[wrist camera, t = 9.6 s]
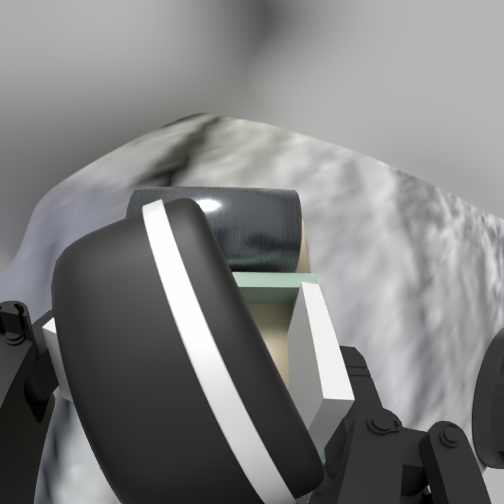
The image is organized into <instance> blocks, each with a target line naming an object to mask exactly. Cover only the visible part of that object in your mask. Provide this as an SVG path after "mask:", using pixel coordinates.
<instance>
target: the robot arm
mask: <svg viewBox="0 0 504 504" xmlns="http://www.w3.org/2000/svg"><path fill="white" fill-rule="evenodd" d="M287 344H288V363H289V384H290V396H291V398H292V400H293V402H294V404H295V406H296V408H297V410H298V412H299V414H300V416H301V418H302V420H303V422H304V424H305V426H306V428H307V430H308V432H309V434H310V436H311V438H312V441H313V443H314V445H315V447H316V449H317V451H318V454H319V456H321V454H322V453H323V451H324V452H325V460H326V462H325V463H324V465H323V467H324V480H323V482H322V483H321V484H320V486H319V487H318V488H316V489H314V490H313V493H312V495H311V498H310V501H309V504H491V501H490V498H489V495H488V492H487V489H486V486H485V483H484V480H483V477H482V474H481V471H480V469H479V466H478V464H477V461H476V458H475V456H474V453H473V451H472V448H471V446H470V444H469V441H468V439H467V437H466V435H465V433H464V432H463V430H462V429H461V428H460V427H459V426H457V425H456V424H454V423H452V422H449V421H440V422H436V423H435V424H434V425H433V426H432V427H431V428H430V429H429V430H428V431H427V432H424V431H419V430H413V429H408V428H405V427H403V426H402V422H401V421H400V420H399V418H398V417H397V416H396V415H395V414H393V413H392V412H391V411H389V410H387V409H384V408H383V407H382V404H381V401H380V399H379V396H378V393H377V390H376V388H375V385H374V382H373V380H372V378H371V375H370V372H369V369H367V368H368V367H367V364H366V362H365V359H364V357H363V356H362V355H361V354H360V353H359V352H358V350H357V349H356V348H355V347H346V346H339V345H338V341H337V338H336V335H335V332H334V329H333V326H332V323H331V320H330V317H329V313H328V310H327V307H326V304H325V301H324V299H323V296H322V293H321V290H320V287H319V285H318V284H313V283H307V282H301V284H300V288H299V292H298V296H297V300H296V304H295V308H294V312H293V315H292V319H291V323H290V327H289V330H288V334H287ZM58 385H59V387H60V390H61V393H62V396H63V398H65V399H67V400H69V401H71V402H73V399H72V396H71V393H70V389H69V386H68V382H67V378H66V375H65V371H64V367H63V362H62V358H61V353H60V349H59V344H58V339H57V333H56V327H55V321H54V315H53V308H52V310H49V311H48V312H47V313H46V314H44V315H43V316H42V317H41V318H39V319H38V320H37V321H36V322H34V323H33V324H32V325H31V320H30V316H29V311H28V307H27V306H26V305H25V304H24V303H22V302H19V301H6V302H2V303H0V504H34V496H35V489H36V483H37V477H38V471H39V466H40V461H41V456H42V452H43V447H44V443H45V439H46V435H47V431H48V427H49V423H50V420H51V416H52V412H53V409H54V406H55V397H54V394H53V391H54V390H55V389H56V388H57V387H58ZM73 403H74V402H73ZM473 436H474V442H475V447H476V451H477V453H478V456H479V458H480V459H481V461H482V462H483V463H484V464H485V465H486V466H488V467H490V468H496V469H504V328H502V329H501V330H500V331H499V332H498V333H497V335H496V336H495V337H494V339H493V340H492V342H491V344H490V345H489V347H488V350H487V352H486V354H485V357H484V359H483V362H482V365H481V369H480V372H479V376H478V380H477V385H476V391H475V397H474V406H473ZM428 485H429V486H430V491H431V493H430V492H429V490H428V487H427V486H428Z"/></svg>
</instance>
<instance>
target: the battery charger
mask: <svg viewBox="0 0 504 504" xmlns="http://www.w3.org/2000/svg"><path fill="white" fill-rule="evenodd" d="M51 296H52V308H53V315H54V321H55V327H56V333H57V339H58V344H59V349H60V353H61V358H62V362H63V367H64V371H65V375H66V378H67V382H68V386H69V389H70V393H71V396H72V399H73V402H74V405H75V408H76V411H77V414H78V416H79V419H80V422H81V424H82V427H83V429H84V432H85V434H86V437H87V439H88V442H89V444H90V446H91V449H92V451H93V453H94V455H95V457H96V459H97V462H98V464H99V466H100V468H101V470H102V472H103V474H104V476H105V478H106V480H107V481H108V483H109V485H110V487H111V488H112V490H113V491H114V493H115V495H116V496H117V498H118V499H119V501H120V502H121V503H122V504H297V502H296V500H295V499H297V498H299V497H301V496H303V495H306V494H308V493H310V492H311V491H313V490H314V489H316V488H318V487H319V486H320V484H321V483H322V482H323V480H324V467H323V464H322V461H321V459H320V456H319V454H318V451H317V449H316V447H315V445H314V443H313V441H312V438H311V436H310V434H309V432H308V430H307V428H306V426H305V424H304V422H303V420H302V418H301V416H300V414H299V412H298V410H297V408H296V406H295V404H294V402H293V400H292V398H291V396H290V394H289V392H288V390H287V388H286V386H285V384H284V382H283V379H282V377H281V375H280V373H279V371H278V369H277V367H276V365H275V363H274V361H273V359H272V357H271V355H270V352H269V350H268V348H267V346H266V344H265V342H264V340H263V338H262V336H261V334H260V331H259V329H258V327H257V325H256V323H255V321H254V319H253V317H252V314H251V312H250V310H249V308H248V306H247V304H246V302H245V300H244V298H243V295H242V293H241V291H240V289H239V287H238V285H237V282H236V280H235V278H234V276H233V274H232V272H231V269H230V267H229V265H228V263H227V261H226V259H225V256H224V254H223V252H222V250H221V248H220V245H219V243H218V241H217V239H216V236H215V234H214V232H213V230H212V228H211V226H210V224H209V222H208V219H207V217H206V215H205V213H204V212H203V210H202V208H201V207H200V205H199V204H198V203H197V202H195V201H194V200H193V199H190V198H179V199H175V200H172V201H169V202H166V203H164V204H163V201H162V199H160V200H158V201H155V202H152V203H150V204H147V205H144V206H143V208H142V212H140V213H137V214H135V215H132V216H130V217H127V218H125V219H122V220H120V221H117V222H115V223H112V224H110V225H108V226H105V227H103V228H101V229H98V230H96V231H94V232H91V233H89V234H87V235H85V236H84V237H82V238H80V239H79V240H77V241H75V242H74V243H72V244H71V245H69V246H68V247H67V248H66V249H65V250H64V251H63V253H62V254H61V255H60V257H59V258H58V259H57V261H56V264H55V268H54V273H53V278H52V284H51Z"/></svg>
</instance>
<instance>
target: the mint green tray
mask: <svg viewBox="0 0 504 504" xmlns="http://www.w3.org/2000/svg"><path fill="white" fill-rule="evenodd" d="M179 198H190V199H193V200H194V201H195V202H197V203H198V204H199V205H200V207H201V208H202V210H203V212H204V213H205V215H206V217H207V219H208V222H209V224H210V226H211V228H212V230H213V232H214V234H215V236H216V239H217V241H218V243H219V245H220V248H221V250H222V252H223V254H224V256H225V259H226V261H227V263H228V265H229V267H230V269H231V272H232V274H233V276H234V278H235V280H236V282H237V285H238V287H239V289H240V291H241V293H242V295H243V298H244V300H245V302H246V304H247V306H248V308H249V310H250V312H251V314H252V317H253V319H254V321H255V323H256V325H257V327H258V329H259V331H260V334H261V336H262V338H263V340H264V342H265V344H266V346H267V348H268V350H269V352H270V355H271V357H272V359H273V361H274V363H275V365H276V367H277V369H278V371H279V373H280V375H281V377H282V379H283V382H284V384H285V386H286V388H287V390H288V392H289V394H290V384H289V363H288V344H287V334H288V330H289V327H290V323H291V319H292V315H293V312H294V308H295V304H296V300H297V296H298V292H299V288H300V284H301V282H307V283H313V284H317V274H316V273H309V269H308V259H307V249H306V239H305V230H304V222H303V219H302V214H301V205H300V200H299V196H298V193H297V192H296V191H295V190H286V189H266V188H239V187H139V188H137V189H136V190H135V191H134V192H133V194H132V196H131V198H130V201H129V204H128V208H127V214H126V218H127V217H130V216H132V215H135V214H137V213H140V212H142V208H143V206H144V205H147V204H150V203H152V202H155V201H158V200H160V199H162V201H163V204H164V203H166V202H169V201H172V200H175V199H179ZM124 219H125V218H124ZM320 459H321V461H322V464H323V465H324V463H325V452H324V451H323V453H322V454H321V456H320ZM100 469H101V468H100Z"/></svg>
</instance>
